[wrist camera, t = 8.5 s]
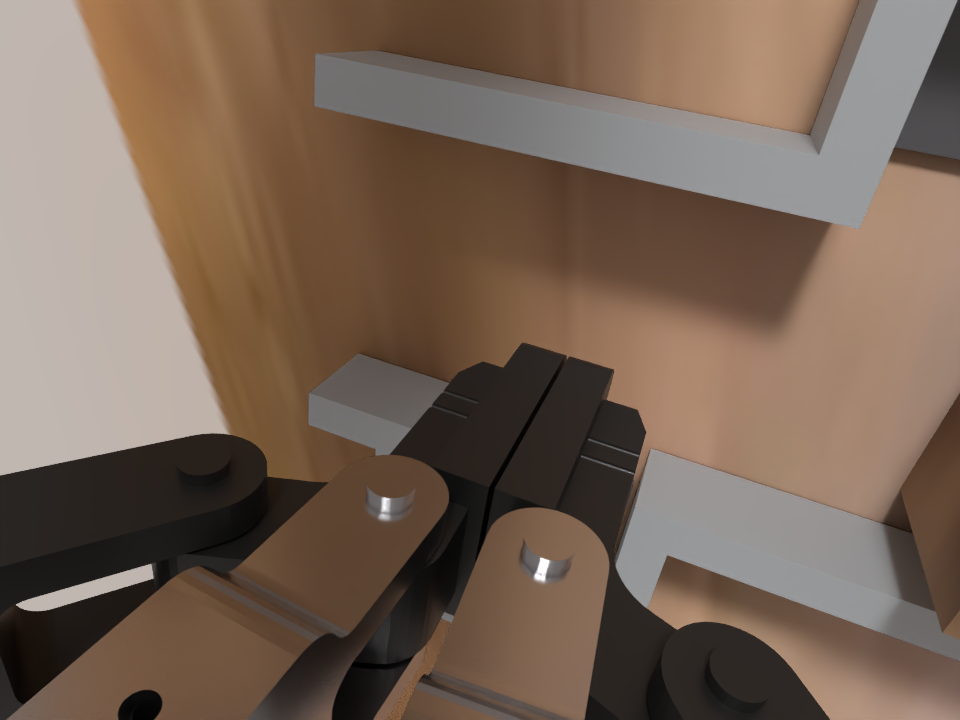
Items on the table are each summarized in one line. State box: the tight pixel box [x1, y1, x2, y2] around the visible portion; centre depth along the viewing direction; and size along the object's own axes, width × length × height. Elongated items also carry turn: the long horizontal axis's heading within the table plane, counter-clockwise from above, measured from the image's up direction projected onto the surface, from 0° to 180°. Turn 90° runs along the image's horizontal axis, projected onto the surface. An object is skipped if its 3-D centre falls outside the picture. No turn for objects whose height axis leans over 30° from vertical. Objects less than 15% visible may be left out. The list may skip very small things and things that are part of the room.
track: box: [308, 0, 960, 661], centre depth 14 cm, size 19×24×2 cm
